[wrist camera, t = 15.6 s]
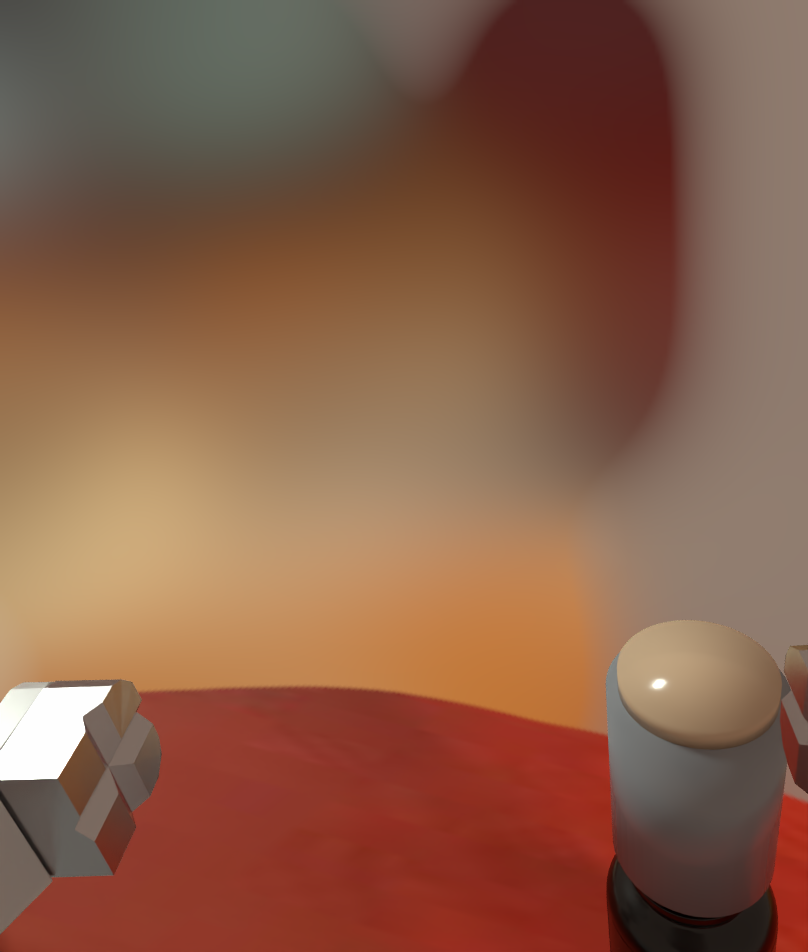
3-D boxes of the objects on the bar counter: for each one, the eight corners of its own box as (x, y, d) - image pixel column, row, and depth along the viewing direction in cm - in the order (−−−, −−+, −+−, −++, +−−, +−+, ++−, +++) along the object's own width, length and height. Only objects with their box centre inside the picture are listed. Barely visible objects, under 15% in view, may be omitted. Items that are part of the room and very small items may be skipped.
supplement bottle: (800, 1016, 35) (826, 853, 29) (698, 1124, 32) (704, 968, 26) (678, 900, 40) (680, 743, 35) (582, 985, 38) (566, 829, 32)
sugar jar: (622, 916, 28) (616, 744, 24) (604, 779, 34) (596, 617, 29) (796, 919, 27) (823, 740, 23) (750, 777, 32) (765, 608, 28)
